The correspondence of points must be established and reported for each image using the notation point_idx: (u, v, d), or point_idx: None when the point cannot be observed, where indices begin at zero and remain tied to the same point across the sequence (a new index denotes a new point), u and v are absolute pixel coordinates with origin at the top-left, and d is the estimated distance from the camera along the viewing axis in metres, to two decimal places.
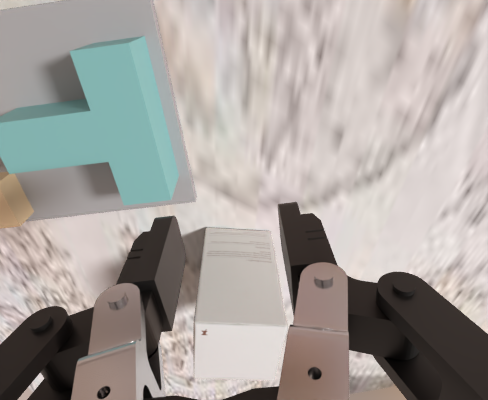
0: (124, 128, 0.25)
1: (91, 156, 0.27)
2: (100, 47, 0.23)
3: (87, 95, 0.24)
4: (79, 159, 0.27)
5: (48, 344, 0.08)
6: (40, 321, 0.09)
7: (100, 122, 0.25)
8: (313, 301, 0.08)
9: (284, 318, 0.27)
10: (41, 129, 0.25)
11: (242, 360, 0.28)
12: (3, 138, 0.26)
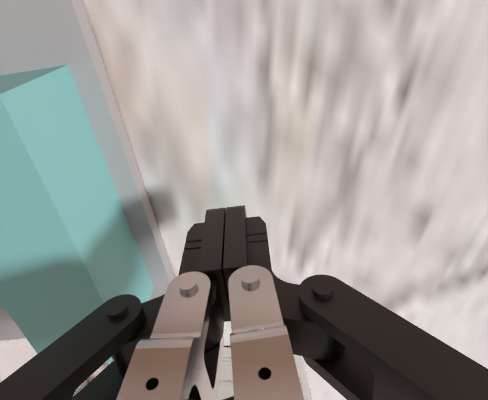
0: (25, 257, 0.13)
1: None
2: None
3: None
4: None
5: (127, 331, 0.08)
6: (116, 309, 0.09)
7: None
8: (235, 303, 0.09)
9: None
10: None
11: None
12: None
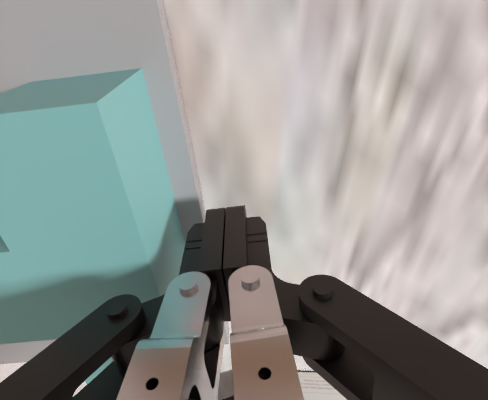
0: (93, 283, 0.11)
1: (22, 331, 0.12)
2: (19, 112, 0.08)
3: None
4: None
5: (128, 331, 0.08)
6: (116, 309, 0.09)
7: (36, 273, 0.11)
8: (235, 303, 0.09)
9: None
10: None
11: None
12: None
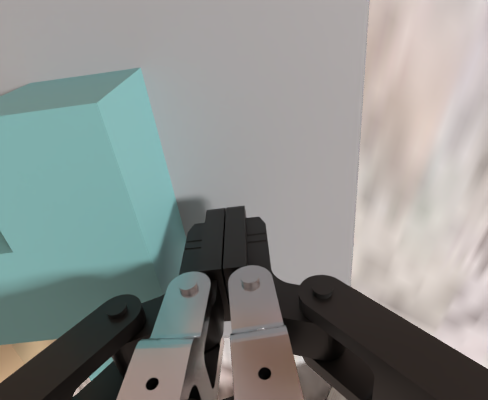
0: (97, 283, 0.11)
1: (27, 331, 0.12)
2: (20, 114, 0.08)
3: (1, 222, 0.10)
4: (2, 336, 0.12)
5: (128, 331, 0.08)
6: (116, 309, 0.09)
7: (39, 273, 0.11)
8: (235, 303, 0.09)
9: None
10: None
11: None
12: None
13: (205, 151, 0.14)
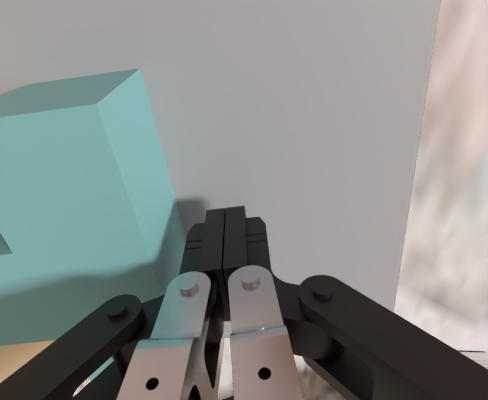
0: (97, 283, 0.11)
1: (27, 332, 0.12)
2: (20, 115, 0.08)
3: (0, 223, 0.10)
4: (1, 337, 0.12)
5: (128, 331, 0.08)
6: (116, 309, 0.09)
7: (39, 274, 0.11)
8: (235, 303, 0.09)
9: None
10: None
11: None
12: None
13: (264, 144, 0.14)
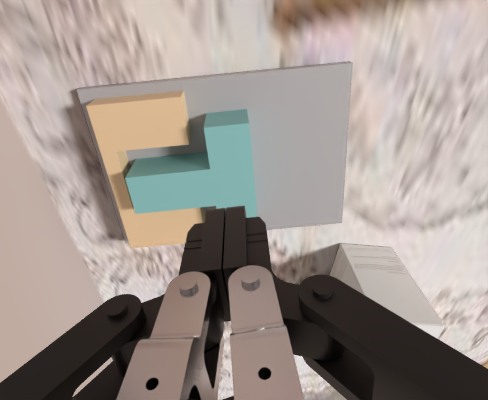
0: (233, 182, 0.33)
1: (203, 202, 0.34)
2: (227, 125, 0.30)
3: (210, 158, 0.32)
4: (193, 204, 0.34)
5: (128, 331, 0.08)
6: (116, 309, 0.09)
7: (216, 177, 0.33)
8: (235, 303, 0.09)
9: (440, 319, 0.35)
10: (169, 181, 0.33)
11: None
12: (138, 187, 0.33)
13: (288, 137, 0.36)
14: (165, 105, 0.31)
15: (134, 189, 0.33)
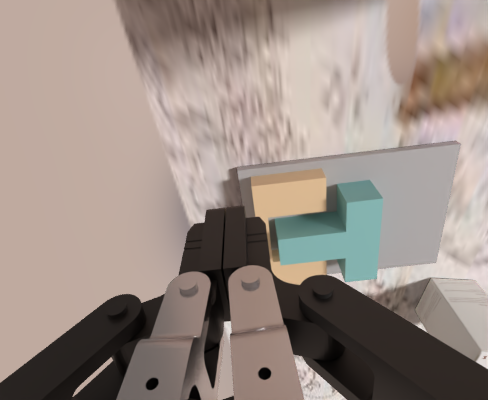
0: (363, 240, 0.41)
1: (336, 255, 0.42)
2: (365, 200, 0.38)
3: (347, 224, 0.40)
4: (328, 257, 0.42)
5: (128, 331, 0.08)
6: (116, 309, 0.09)
7: (349, 237, 0.41)
8: (235, 303, 0.09)
9: None
10: (312, 241, 0.41)
11: None
12: (286, 246, 0.41)
13: (400, 199, 0.44)
14: (313, 184, 0.39)
15: (283, 247, 0.41)
